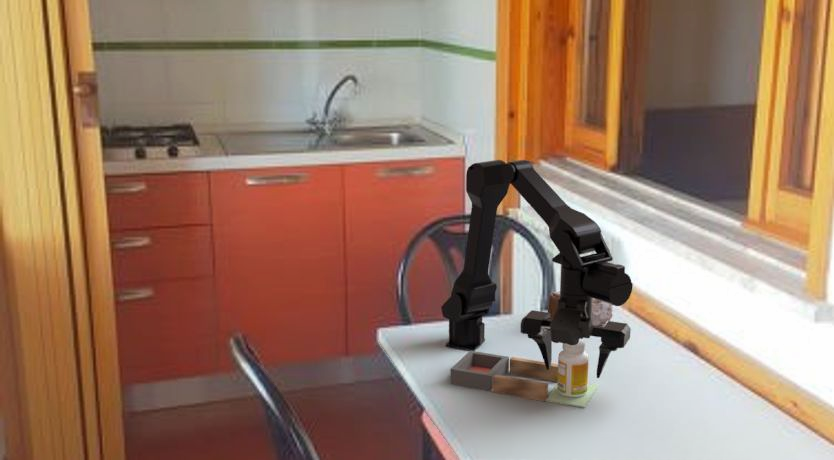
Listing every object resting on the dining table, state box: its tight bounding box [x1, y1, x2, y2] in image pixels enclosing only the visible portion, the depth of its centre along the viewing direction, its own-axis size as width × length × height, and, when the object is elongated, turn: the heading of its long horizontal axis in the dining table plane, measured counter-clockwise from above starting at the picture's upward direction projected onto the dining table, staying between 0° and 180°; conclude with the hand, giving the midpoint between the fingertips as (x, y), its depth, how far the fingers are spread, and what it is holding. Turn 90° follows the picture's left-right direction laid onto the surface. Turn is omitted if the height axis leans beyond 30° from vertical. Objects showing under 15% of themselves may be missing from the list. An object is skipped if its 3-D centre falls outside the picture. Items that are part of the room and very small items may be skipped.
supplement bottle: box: [556, 339, 589, 397], centre depth 168 cm, size 5×5×10 cm
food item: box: [547, 290, 614, 326], centre depth 202 cm, size 14×8×10 cm, turn 122°
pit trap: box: [449, 350, 510, 392], centre depth 176 cm, size 8×10×3 cm
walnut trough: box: [492, 356, 558, 402], centre depth 172 cm, size 10×10×3 cm
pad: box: [545, 382, 599, 409], centre depth 169 cm, size 7×10×1 cm
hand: (573, 373), depth 168 cm, fingers open, 9 cm apart
